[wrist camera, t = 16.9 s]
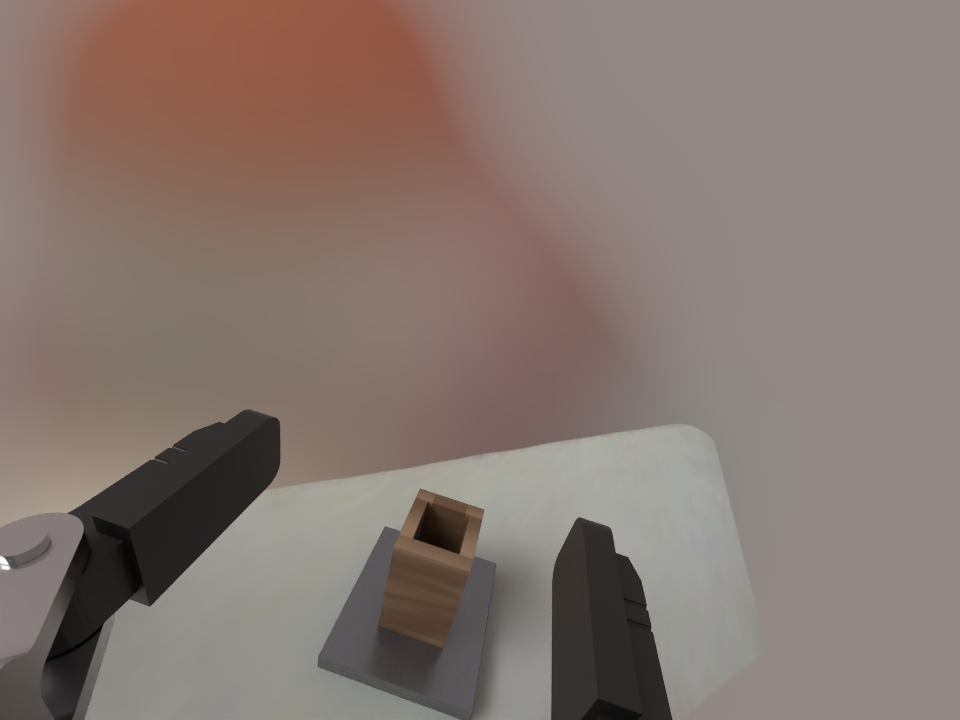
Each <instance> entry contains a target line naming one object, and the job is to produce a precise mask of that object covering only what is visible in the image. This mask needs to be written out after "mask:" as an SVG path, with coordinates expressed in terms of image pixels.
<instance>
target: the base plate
mask: <svg viewBox="0 0 960 720" xmlns="http://www.w3.org/2000/svg"><path fill="white" fill-rule="evenodd" d="M399 534H400V531H397V530H394V529H392V528H389V527H386V526H385V528H384V529H383V531H382V533H381V535H380V537H379V539H378V541H377V543H376V545H375V547H374V549H373V551H372V553H371V555H370V557H369V559H368V561H367V563H366V565H365V567H364V569H363V570H362V572H361V574H360V576H359V578H358V580H357V582H356V584H355V586H354V588H353V590H352V592H351V594H350V596H349V598H348V600H347V602H346V604H345V606H344V608H343V610H342V611H341V613H340V615H339V617H338V619H337V621H336V623H335V625H334V627H333V629H332V631H331V633H330V635H329V637H328V639H327V641H326V643H325V645H324V647H323V649H322V651H321V652H320V654H319V657H318V667H320V668H323V669H326V670H329V671H331V672H334V673H337V674H339V675H342V676H345V677H348V678H350V679H353V680H356V681H358V682H361V683H364V684H366V685H369V686H372V687H375V688H377V689H380V690H383V691H385V692H388V693H391V694H394V695H396V696H399V697H402V698H404V699H407V700H410V701H413V702H415V703H418V704H421V705H423V706H426V707H429V708H432V709H434V710H437V711H440V712H442V713H445V714H448V715H451V716H453V717H456V718H459V719H461V720H469V718H470V716H471V714H472V712H473V705H474V699H475V693H476V687H477V680H478V674H479V668H480V662H481V655H482V649H483V643H484V637H485V630H486V624H487V618H488V612H489V605H490V599H491V593H492V586H493V580H494V574H495V568H496V564H495V563H492V562H489V561H486V560H483V559H480V558H477V557H474V558H473V563H472V567H471V571H470V574H469V577H468V580H467V583H466V586H465V589H464V591H463V594H462V597H461V600H460V603H459V605H458V608H457V611H456V614H455V617H454V619H453V622H452V625H451V628H450V631H449V633H448V636H447V639H446V642H445V645H444V648H440V647H437V646H434V645H432V644H429V643H426V642H423V641H420V640H418V639H415V638H412V637H409V636H406V635H404V634H401V633H398V632H395V631H392V630H390V629H387V628H384V627H381V626H378V623H379V618H380V613H381V608H382V603H383V598H384V593H385V588H386V583H387V578H388V573H389V568H390V563H391V558H392V553H393V548H394V545H395V543H396V540H397V538H398V536H399Z"/></svg>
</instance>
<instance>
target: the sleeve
mask: <svg viewBox="0 0 960 720" xmlns="http://www.w3.org/2000/svg"><path fill="white" fill-rule="evenodd" d="M483 513H484V509H481V508H478V507H475V506H471V505H468V504H465V503H462V502H459V501H456V500H453V499H450V498H447V497H444V496H441V495H438V494H435V493H432V492H429V491H426V490H423V489H420V490H419V492H418V495H417V497H416V499H415V501H414V503H413V506H412V508H411V510H410V512H409V514H408V516H407V519H406V521H405V523H404V525H403V527H402V530H401V532H400V534H399V536H398V538H397V540H396V543H395V545H394V548H393V553H392V558H391V563H390V568H389V573H388V578H387V583H386V588H385V593H384V598H383V603H382V608H381V613H380V618H379V623H378V626H381V627H384V628H387V629H390V630H392V631H395V632H398V633H401V634H404V635H406V636H409V637H412V638H415V639H418V640H420V641H423V642H426V643H429V644H432V645H434V646H437V647H440V648H444V645H445V642H446V639H447V636H448V633H449V631H450V628H451V625H452V622H453V619H454V617H455V614H456V611H457V608H458V605H459V603H460V600H461V597H462V594H463V591H464V589H465V586H466V583H467V580H468V577H469V574H470V571H471V567H472V563H473V558H474V554H475V549H476V545H477V540H478V536H479V531H480V527H481V522H482V518H483Z"/></svg>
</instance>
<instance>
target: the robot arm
mask: <svg viewBox="0 0 960 720" xmlns="http://www.w3.org/2000/svg"><path fill="white" fill-rule="evenodd" d="M279 466H280V422H279V420H278V419H277V418H275V417H272V416H269V415H266V414H262V413H259V412H256V411H253V410H244V411H242V412H241V413H239V414H238V415H236V416H235V417H233V418H232V419H230V420H229V421H228V422H226V423H225V424H224V423H221V422H218V423H215V424H212V425H210V426H207V427H204V428H202V429H199V430H196V431H194V432H192V433H191V434H189V435H188V436H186V437H185V438H183V439H182V440H180V441H179V442H177V443H175V444H174V445H173V447H172V448H168V449H166V450H165V451H163V452H162V453H160V454H159V455H157V456H156V457H155V459H154V460H149V461H148V462H146V463H145V464H143V465H142V466H140V467H139V468H137V469H136V470H134V471H133V472H131V473H130V474H128V475H127V476H125V477H124V478H122V479H121V480H119V481H117V482H116V483H115V484H113V485H111V486H110V487H108V488H107V489H105V490H104V491H103V492H101V493H99V494H98V495H96V496H95V497H93V498H92V499H90V500H88V501H87V502H85V503H84V504H82V505H81V506H79V507H78V508H76V509H74V510H73V511H71V512H69V513H67V514H66V513H46V514H40V515H35V516H31V517H27V518H24V519H20V520H18V521H15V522H12V523H10V524H8V525H5V526H3V527H1V528H0V720H84V718H85V715H86V712H87V709H88V705H89V702H90V699H91V696H92V692H93V689H94V686H95V682H96V679H97V676H98V673H99V669H100V666H101V663H102V660H103V656H104V653H105V650H106V646H107V643H108V640H109V637H110V633H111V630H112V627H113V623H114V618H115V617H114V613H115V612H116V611H117V610H118V609H119V608H120V607H121V606H122V605H123V604H124V603H125V602H127V601H128V600H129V599H131V600H134V601H136V602H139V603H142V604H144V605H147V606H151V605H152V604H153V603H154V602H155V601H156V600H157V599H158V598H159V597H160V596H161V595H162V594H163V593H164V592H165V591H166V590H167V589H168V588H169V587H170V586H171V585H172V584H173V583H174V582H175V581H176V580H177V579H178V577H179V576H180V575H181V574H182V573H183V572H184V571H185V570H186V569H187V568H188V567H189V566H190V565H191V564H192V563H193V562H194V561H195V560H196V559H197V558H198V557H199V556H200V555H201V554H202V553H203V552H204V551H205V550H206V549H207V548H208V547H209V546H210V545H211V544H212V543H213V542H214V541H215V540H216V539H217V538H218V537H219V536H220V535H221V534H222V533H223V532H224V531H225V530H226V529H227V528H228V527H229V526H230V525H231V524H232V523H233V522H234V521H235V520H236V519H237V518H238V516H239V515H240V514H241V513H242V512H243V511H244V510H245V509H246V508H247V507H248V506H249V505H250V504H251V503H252V502H253V501H254V500H255V499H256V498H257V497H258V496H259V495H260V494H261V493H262V492H263V491H264V490H265V489H266V488H267V487H268V486H269V485H270V484H271V482H272V481H273V479H274V478H275V476H276V474H277V472H278V469H279ZM646 606H647V604H646V600H645V595H644V591H643V586H642V582H641V579H640V578H639V576H638V574H637V572H636V571H635V569H634V567H633V565H632V563H631V562H630V560H629V558H628V557H626V556H623V555H620V554H617V553H616V552H615V546H614V540H613V534H612V531H611V529H610V527H608V526H605V525H602V524H599V523H596V522H592V521H589V520H586V519H583V518H580V517H579V518H577V519H576V521H575V523H574V525H573V527H572V529H571V531H570V533H569V534H568V536H567V538H566V540H565V542H564V544H563V546H562V548H561V550H560V552H559V554H558V556H557V559H556V562H555V566H554V572H553V580H552V705H551V720H672V716H671V712H670V707H669V703H668V698H667V694H666V689H665V685H664V680H663V676H662V672H661V667H660V663H659V658H658V654H657V649H656V645H655V640H654V636H653V632H651V622H650V618H649V613H648V610H646Z"/></svg>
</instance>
